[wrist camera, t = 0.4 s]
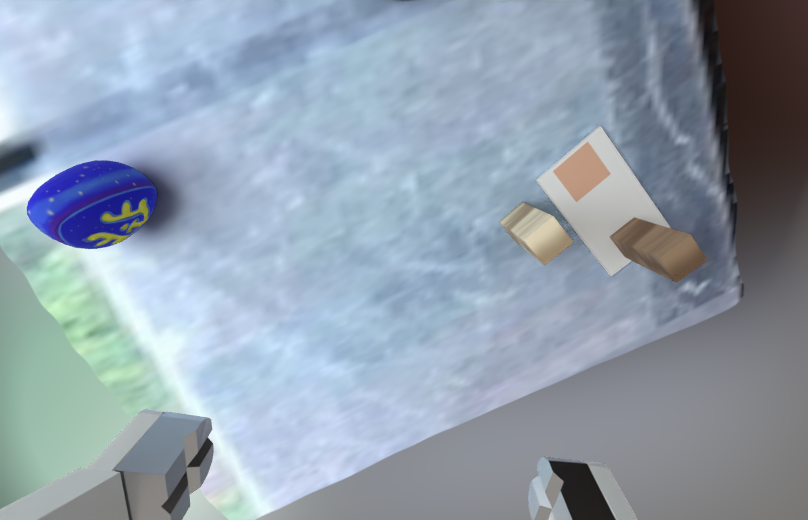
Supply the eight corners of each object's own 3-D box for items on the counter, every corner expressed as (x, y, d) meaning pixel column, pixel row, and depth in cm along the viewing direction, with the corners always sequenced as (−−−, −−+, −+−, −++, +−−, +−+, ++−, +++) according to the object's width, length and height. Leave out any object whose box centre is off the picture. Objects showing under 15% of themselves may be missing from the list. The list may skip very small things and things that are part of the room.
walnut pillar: (609, 236, 56) (659, 258, 46) (634, 217, 56) (690, 234, 45) (624, 257, 58) (676, 282, 47) (649, 238, 57) (707, 260, 46)
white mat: (535, 180, 54) (536, 180, 54) (598, 126, 52) (600, 126, 52) (609, 275, 59) (611, 276, 58) (669, 229, 57) (672, 230, 56)
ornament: (143, 245, 55) (57, 280, 41) (85, 204, 53) (-28, 227, 39) (183, 188, 53) (107, 204, 39) (124, 143, 51) (20, 143, 37)
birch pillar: (498, 221, 56) (523, 240, 45) (522, 202, 55) (553, 216, 45) (516, 242, 57) (544, 265, 46) (539, 223, 56) (573, 242, 46)
